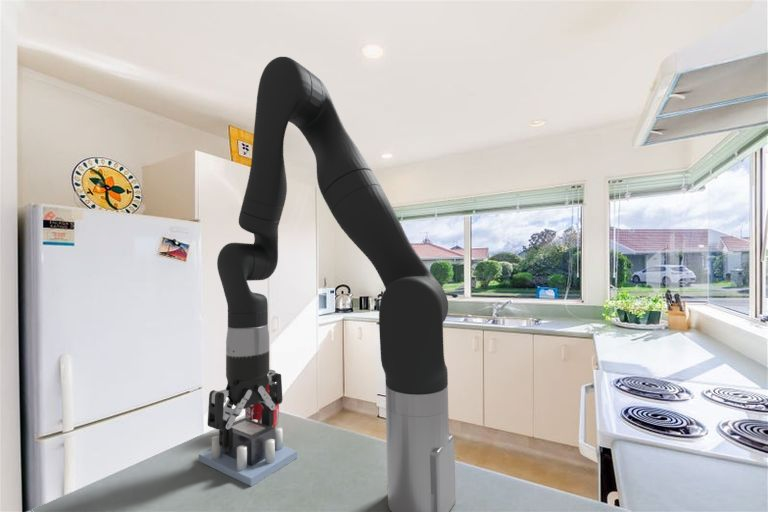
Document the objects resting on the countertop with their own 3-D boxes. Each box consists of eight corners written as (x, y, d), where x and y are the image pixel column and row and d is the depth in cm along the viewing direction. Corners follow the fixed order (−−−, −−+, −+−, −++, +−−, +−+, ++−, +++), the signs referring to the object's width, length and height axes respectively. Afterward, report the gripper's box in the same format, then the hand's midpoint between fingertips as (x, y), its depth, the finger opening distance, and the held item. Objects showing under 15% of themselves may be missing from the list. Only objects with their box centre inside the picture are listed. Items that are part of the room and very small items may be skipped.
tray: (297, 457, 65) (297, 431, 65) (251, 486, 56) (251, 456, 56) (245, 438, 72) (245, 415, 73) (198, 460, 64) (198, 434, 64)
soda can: (238, 430, 76) (238, 374, 77) (265, 418, 82) (265, 367, 83) (258, 438, 72) (258, 379, 73) (285, 425, 78) (285, 371, 79)
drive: (275, 453, 64) (274, 427, 64) (251, 466, 60) (251, 438, 60) (244, 441, 69) (244, 417, 69) (220, 452, 65) (220, 427, 65)
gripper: (225, 361, 57) (225, 462, 56) (291, 344, 69) (291, 428, 68) (199, 355, 61) (198, 450, 60) (265, 341, 73) (266, 420, 72)
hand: (248, 438), depth 64 cm, fingers open, 8 cm apart
